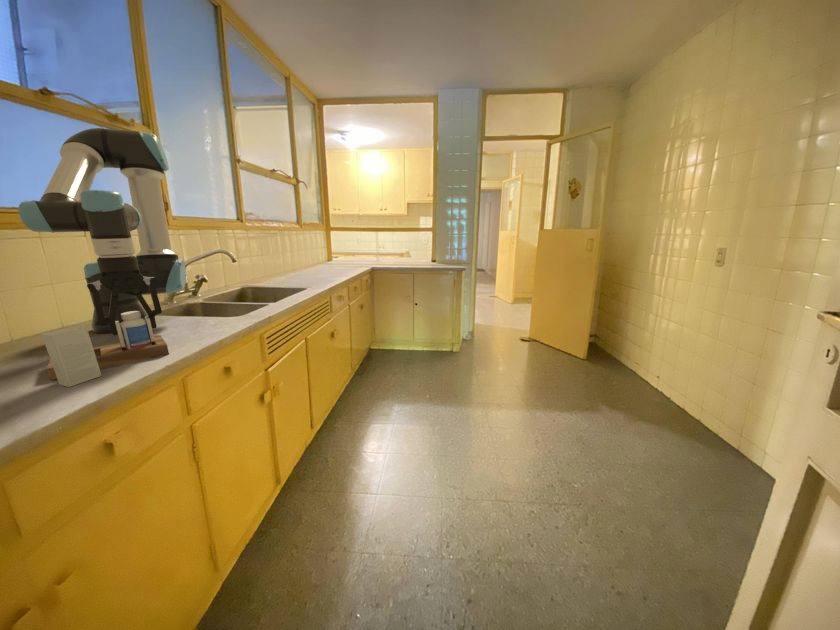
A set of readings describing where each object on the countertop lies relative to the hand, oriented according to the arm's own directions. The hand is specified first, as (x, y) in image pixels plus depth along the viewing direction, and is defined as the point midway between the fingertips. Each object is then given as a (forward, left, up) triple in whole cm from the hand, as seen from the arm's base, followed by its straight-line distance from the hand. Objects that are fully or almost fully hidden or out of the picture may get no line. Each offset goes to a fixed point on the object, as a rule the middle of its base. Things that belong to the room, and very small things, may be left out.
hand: (138, 342), depth 90 cm
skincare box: (+11, -12, -4) cm, 16 cm away
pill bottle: (0, 0, -2) cm, 2 cm away
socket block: (0, -6, -3) cm, 6 cm away
